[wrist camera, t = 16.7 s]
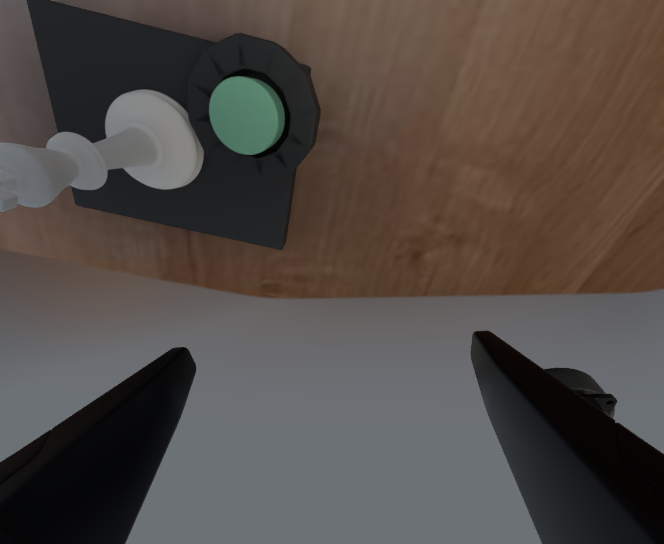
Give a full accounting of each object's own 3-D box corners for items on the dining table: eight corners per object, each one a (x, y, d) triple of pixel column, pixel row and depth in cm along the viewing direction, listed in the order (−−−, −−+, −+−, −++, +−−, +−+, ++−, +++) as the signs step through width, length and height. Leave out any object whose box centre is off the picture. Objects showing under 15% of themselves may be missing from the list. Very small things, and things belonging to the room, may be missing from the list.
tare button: (289, 87, 13) (282, 86, 12) (281, 156, 15) (274, 162, 14) (222, 70, 13) (208, 67, 12) (221, 141, 15) (208, 146, 13)
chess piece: (125, 66, 15) (-200, 26, 6) (218, 129, 16) (57, 172, 7) (103, 154, 17) (-157, 217, 8) (186, 204, 18) (33, 303, 9)
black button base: (331, 61, 15) (326, 55, 12) (299, 245, 20) (291, 267, 18) (45, -11, 14) (-23, -35, 12) (89, 199, 20) (49, 215, 17)
